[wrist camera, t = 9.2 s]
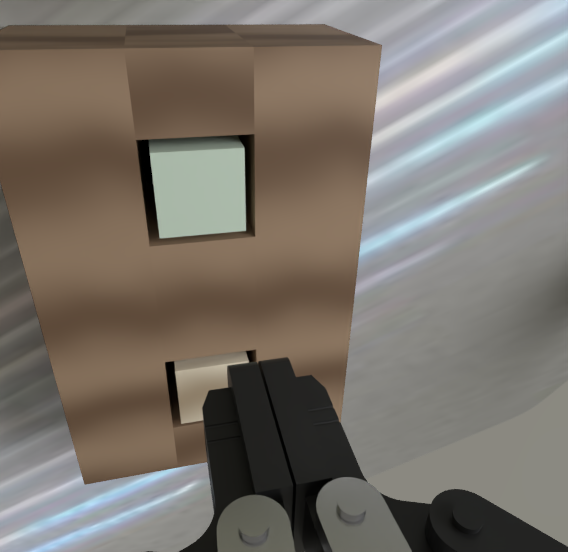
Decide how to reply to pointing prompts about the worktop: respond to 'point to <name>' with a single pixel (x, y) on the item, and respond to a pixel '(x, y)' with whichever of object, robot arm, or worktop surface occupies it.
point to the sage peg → (199, 185)
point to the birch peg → (202, 381)
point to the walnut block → (188, 249)
